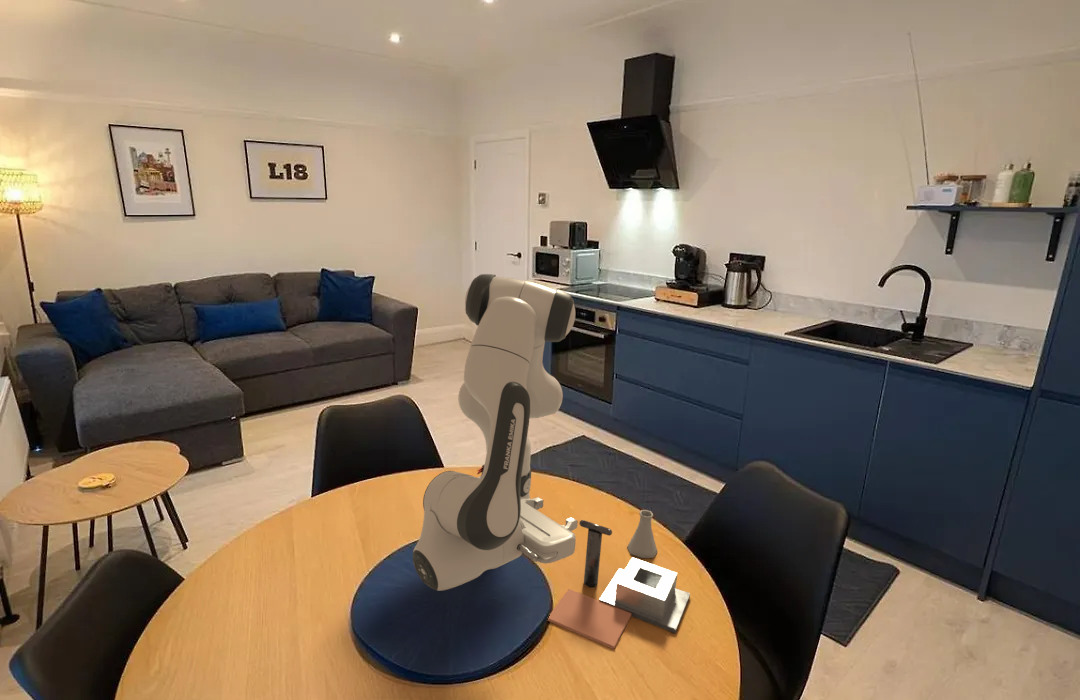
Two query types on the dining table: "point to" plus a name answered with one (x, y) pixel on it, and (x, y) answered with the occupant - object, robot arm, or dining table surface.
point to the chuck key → (593, 551)
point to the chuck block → (647, 594)
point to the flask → (643, 537)
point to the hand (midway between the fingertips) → (557, 511)
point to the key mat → (590, 618)
